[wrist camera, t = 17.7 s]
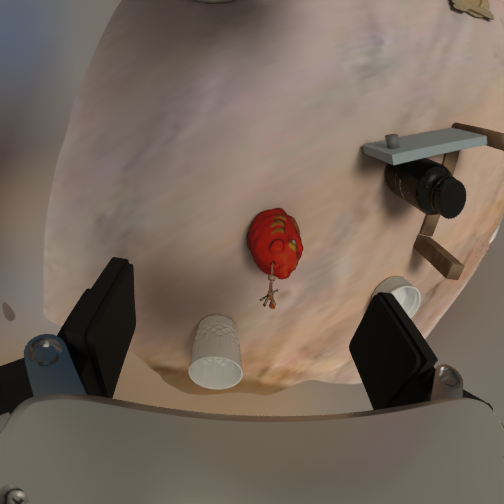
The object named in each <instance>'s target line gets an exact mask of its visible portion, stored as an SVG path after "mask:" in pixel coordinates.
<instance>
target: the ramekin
mask: <svg viewBox="0 0 504 504" xmlns="http://www.w3.org/2000/svg"><path fill="white" fill-rule="evenodd" d="M378 292H386V293H392V294H393V295H394V297H395V298H396V299H397V301H398V302H399V303H400V305H401V306H402V308H403V309H404V310H405V312H406V313H407V315H408V316H409V317H410V318H411V317H412V316H413V315H414V314H415V313H416V311H417V310H418V308H419V306H420V302H421V294H420V291H419V290H418V289H417V288H416V287H414V286H413V285H412V284H411V283H410V282H409V281H408V280H406V279H405V278H403V277H400V276H394V277H390V278H388V279H386V280H384V281H383V282H381V283H380V284H379V285H378V286H377V288H376V289H375V291H374V293H373V295H372V298H373V296H374V295H376V294H377V293H378ZM371 300H372V299H371Z"/></svg>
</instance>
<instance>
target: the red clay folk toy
mask: <svg viewBox="0 0 504 504" xmlns="http://www.w3.org/2000/svg"><path fill="white" fill-rule="evenodd" d="M301 242H302V241H301V237H300V231H299V227H298V225H297V223H296V221H295V219H294V218H293V217H292V216H289V215H287V214H286V213H285V211H284V210H283V209H281V208H275V209H271V210H266V211H263V212H261V213H260V214H258V215H257V216H256V218H255V219H254V220H253V222H252V224H251V227H250V231H249V233H248V234H247V245H248V248H249V250H250V251H251V253H252V256H253V258H254V261H255V262H256V264H257V265H258V267H259V268H260V270H262V271H263V272H264V273H265V274H268V279H269V280H270V285H269V291H268V294H267V295H266V296H265V297H263V298H261V299H260V301H262V300H263V299H265V298H266V297H267V298H266V299H265V302H264V304H263V306H264V307H265V306H266V303H267V301H268V300H271V302H270V304H269V307H270V308H271V309H275V305H276V303H275V301H274V300H273V293H274V292H277V291H278V289H277V290H275V291H273V292H272V281H275V279H276V278H275V276H276V277H277V278H278V279H286V278H288V277H289V276H290V273H291V272H292V271H293V270H295V269H296V267H297V265H298V261H299V260H300V258H301V255H302V251H303V246H302V243H301Z"/></svg>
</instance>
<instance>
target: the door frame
mask: <svg viewBox="0 0 504 504" xmlns="http://www.w3.org/2000/svg"><path fill="white" fill-rule="evenodd" d="M452 128H455V129H460V130H464V131H469V132H473V133H477V134H481V135H485V136H487V146H490V147H493V148H496V149H500V150H503V151H504V133H500V132H496V131H492V130H488V129H484V128H479V127H475V126H470V125H465V124H460V123H454V124H453V125H452ZM459 152H460V150H457V151H453V152H448V153H445V154H444V158H443V162H442V165H444V166H445V167H447V168H448V169H449V170H450V172H451V173H452V175H453V174H454V170H455V167H456V163H457V159H458V155H459ZM439 217H440V215H439V214H438V215H428V214H426V216H425V219H424V222H423V224H422V227H421V230H420V233H421V234H425V235H429V236H433V233H434V231H435V228H436V225H437V223H438V220H439ZM413 247H414V248H415V249H416V250H417V251H418V252H419V253H420V254H421V255H422V256H423V257H424V258H426V259H427V260H428V261H429V262H430V263H431V264H432V265H433V266H434V267H435V268H436V269H437V270H438V271H439V272H440V273H441V274H442V275H443V276H444V277H445V278H447V279H453V280H458V279H459V277H460V275H461V273H462V271H463V269H464V265H463V264H462V263H460V262H459V261H458V260H457V259H456V258H455V257H453V256H452V255H451V254H450V253H449V252H448V251H446V250H445V249H444V248H443V247H442V246H440V245H439V244H438V243H437V242H435V241H434V240H433V239H432V238H430V237H427V236H423V235H419V234H418V236H417V239H416V241H415V244H414V246H413Z"/></svg>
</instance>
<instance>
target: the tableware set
mask: <svg viewBox="0 0 504 504" xmlns="http://www.w3.org/2000/svg"><path fill="white" fill-rule="evenodd" d="M451 1H452V3H454V4H453V7H454V8H455V9H458V10H461V11H463V12H464V11H466V12H467V13H469V14H471V15H473V16H475V17H479V18H482V17H486V18H489V19H491V20H494V16H493V14H492V13H491V12H489V1H488V0H451Z"/></svg>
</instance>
